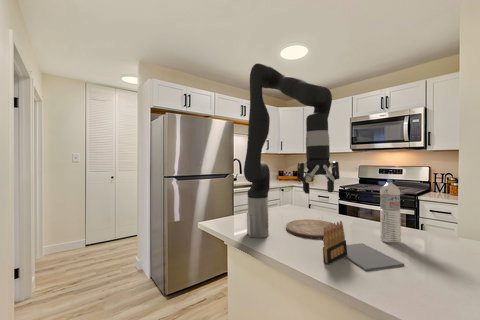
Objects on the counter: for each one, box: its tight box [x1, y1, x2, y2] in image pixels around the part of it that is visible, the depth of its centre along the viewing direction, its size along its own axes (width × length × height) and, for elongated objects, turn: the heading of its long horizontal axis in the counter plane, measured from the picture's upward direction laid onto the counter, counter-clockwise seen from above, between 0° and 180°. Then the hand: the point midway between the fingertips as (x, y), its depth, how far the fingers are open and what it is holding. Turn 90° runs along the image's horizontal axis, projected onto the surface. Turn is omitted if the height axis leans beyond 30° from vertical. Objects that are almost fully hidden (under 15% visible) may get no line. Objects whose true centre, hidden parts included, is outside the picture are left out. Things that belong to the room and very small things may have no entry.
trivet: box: [285, 218, 335, 240], centre depth 109 cm, size 25×25×2 cm
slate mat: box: [343, 242, 405, 272], centre depth 79 cm, size 14×18×1 cm
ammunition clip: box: [322, 220, 347, 266], centre depth 77 cm, size 11×2×12 cm, turn 123°
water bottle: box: [379, 179, 402, 245], centre depth 92 cm, size 7×7×25 cm
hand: (318, 192), depth 77 cm, fingers open, 8 cm apart
